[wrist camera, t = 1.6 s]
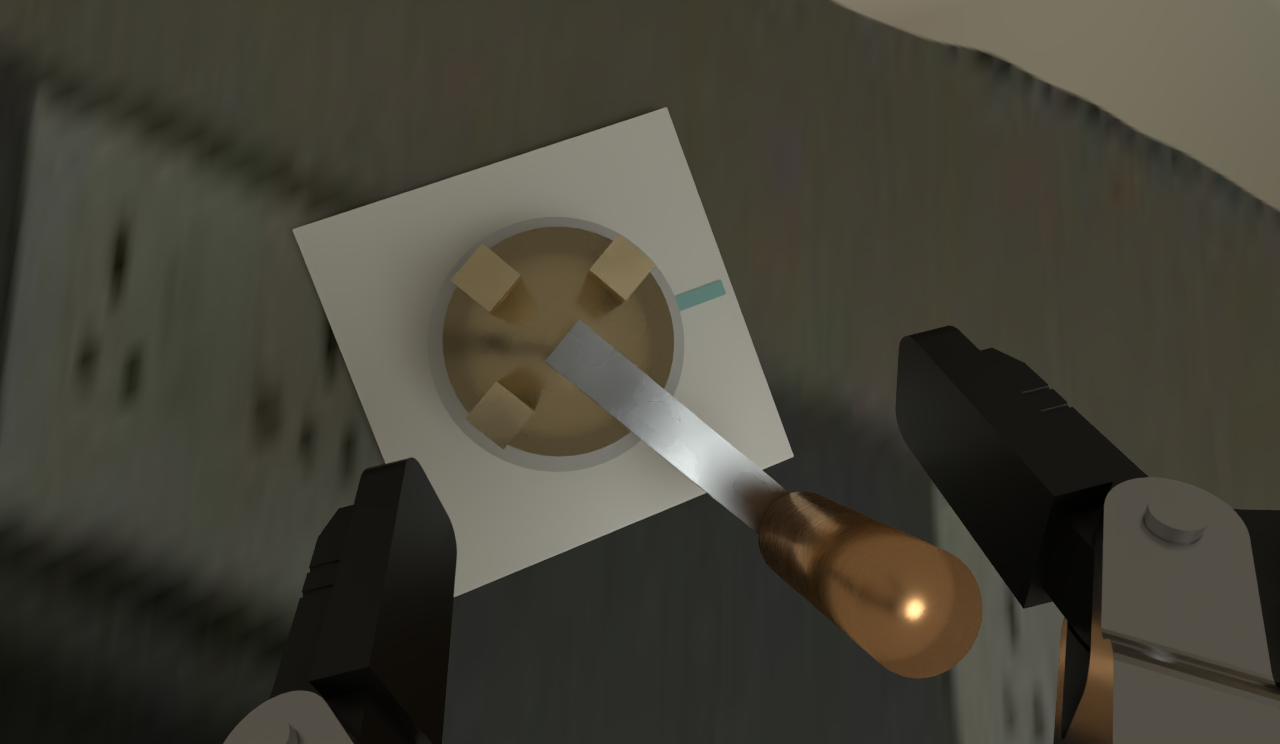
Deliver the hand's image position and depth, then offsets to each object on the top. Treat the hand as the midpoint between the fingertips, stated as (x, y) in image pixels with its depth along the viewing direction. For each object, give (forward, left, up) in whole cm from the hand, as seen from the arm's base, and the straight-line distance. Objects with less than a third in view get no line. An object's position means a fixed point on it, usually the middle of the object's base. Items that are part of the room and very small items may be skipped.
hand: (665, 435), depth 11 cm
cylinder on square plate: (0, +3, -26) cm, 26 cm away
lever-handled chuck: (+2, -1, -18) cm, 18 cm away
